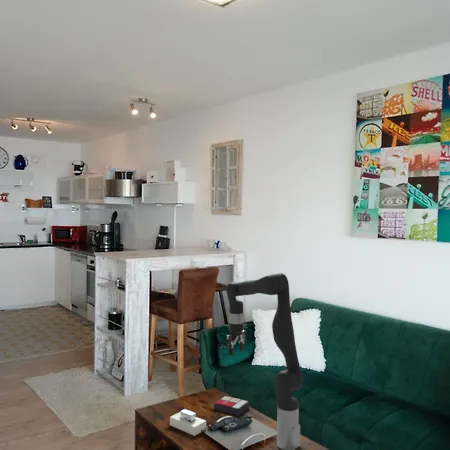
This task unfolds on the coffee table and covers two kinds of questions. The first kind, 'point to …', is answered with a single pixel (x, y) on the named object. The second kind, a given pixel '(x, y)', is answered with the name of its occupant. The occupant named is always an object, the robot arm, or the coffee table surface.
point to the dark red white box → (232, 405)
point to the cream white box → (187, 424)
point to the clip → (188, 415)
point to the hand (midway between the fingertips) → (236, 353)
